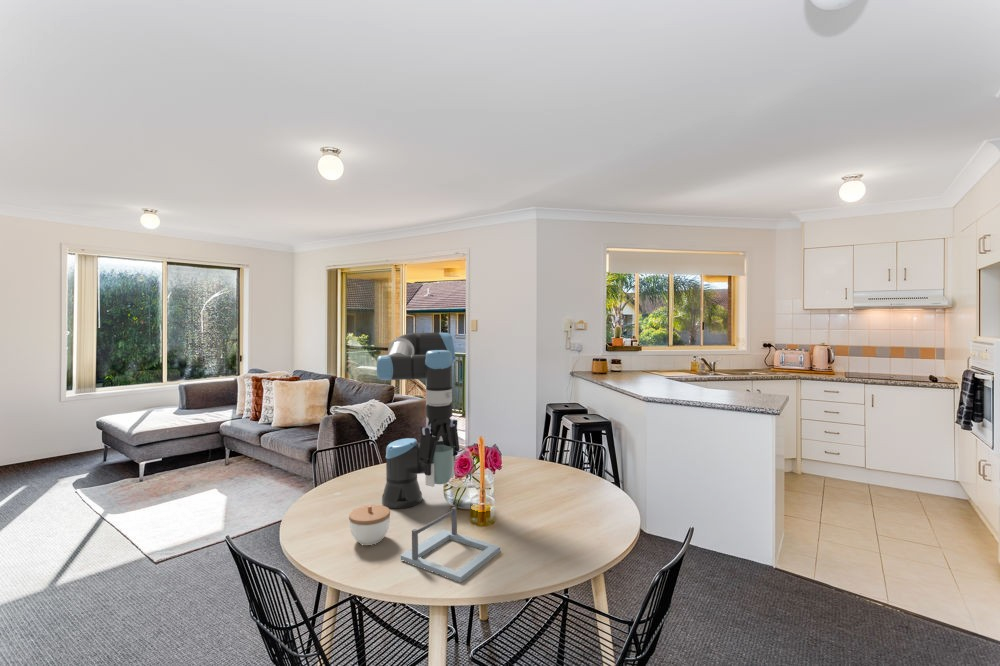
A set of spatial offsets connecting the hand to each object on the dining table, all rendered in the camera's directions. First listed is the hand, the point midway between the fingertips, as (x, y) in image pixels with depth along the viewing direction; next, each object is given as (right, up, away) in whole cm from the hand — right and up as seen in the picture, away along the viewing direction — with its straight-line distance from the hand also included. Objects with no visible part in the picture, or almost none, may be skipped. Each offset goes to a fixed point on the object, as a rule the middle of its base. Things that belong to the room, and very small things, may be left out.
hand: (440, 481), depth 141 cm
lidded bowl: (-24, -23, +13) cm, 36 cm away
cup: (0, -1, 0) cm, 1 cm away
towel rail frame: (+3, -23, +3) cm, 24 cm away
